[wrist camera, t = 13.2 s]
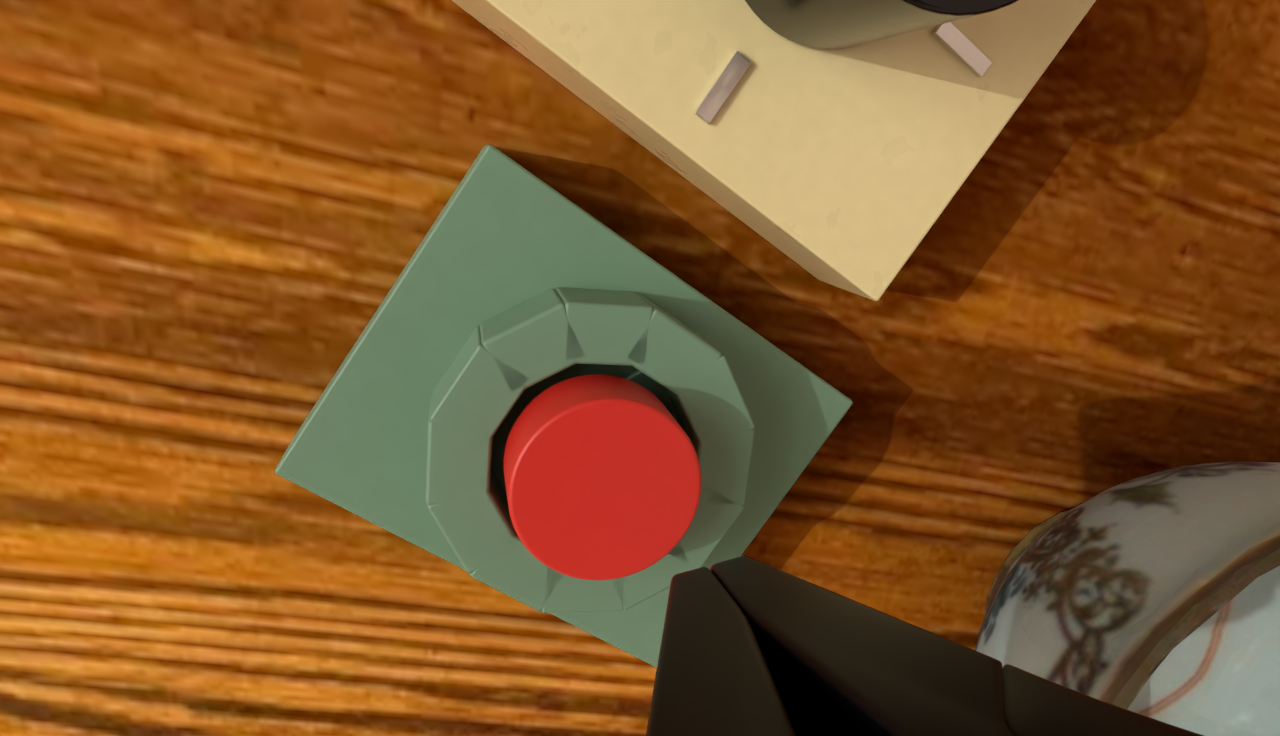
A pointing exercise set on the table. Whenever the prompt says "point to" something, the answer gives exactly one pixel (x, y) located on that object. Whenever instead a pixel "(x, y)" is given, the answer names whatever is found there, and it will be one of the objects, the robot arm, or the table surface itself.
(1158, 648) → the bowl
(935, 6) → the stove knob
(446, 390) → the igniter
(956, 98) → the panel
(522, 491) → the button
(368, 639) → the table surface
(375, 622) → the table surface
